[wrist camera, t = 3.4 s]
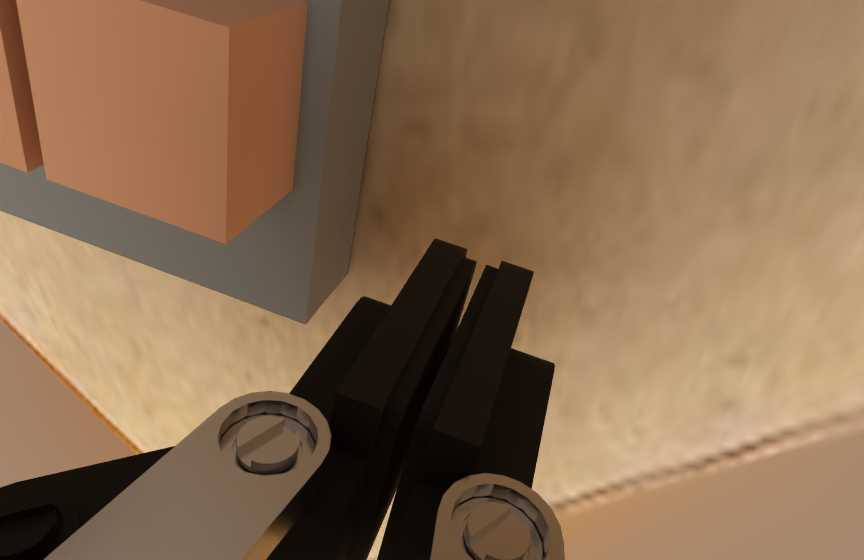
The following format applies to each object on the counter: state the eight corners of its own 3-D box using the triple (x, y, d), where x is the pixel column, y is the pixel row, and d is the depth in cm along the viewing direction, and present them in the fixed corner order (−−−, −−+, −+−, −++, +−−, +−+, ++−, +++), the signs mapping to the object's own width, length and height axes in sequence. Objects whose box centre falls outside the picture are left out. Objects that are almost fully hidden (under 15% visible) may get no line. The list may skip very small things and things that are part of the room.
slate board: (422, -215, 13) (368, -239, 11) (347, 272, 21) (305, 324, 18) (-15, -320, 15) (-149, -361, 12) (60, 170, 22) (-15, 204, 20)
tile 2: (308, 2, 13) (229, 27, 11) (292, 189, 16) (225, 244, 13) (123, -53, 14) (9, -41, 11) (137, 136, 16) (46, 179, 14)
